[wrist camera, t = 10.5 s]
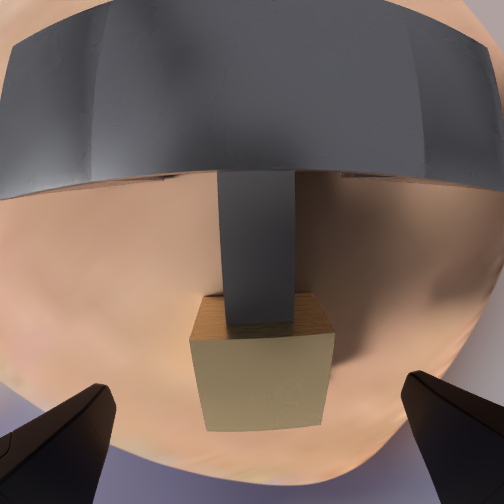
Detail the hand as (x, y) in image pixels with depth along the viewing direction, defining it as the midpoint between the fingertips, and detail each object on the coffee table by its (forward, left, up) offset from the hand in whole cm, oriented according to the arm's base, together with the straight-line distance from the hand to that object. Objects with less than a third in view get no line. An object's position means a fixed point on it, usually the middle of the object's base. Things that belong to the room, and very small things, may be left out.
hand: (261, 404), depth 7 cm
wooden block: (0, 0, -4) cm, 4 cm away
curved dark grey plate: (-8, 0, -4) cm, 9 cm away
